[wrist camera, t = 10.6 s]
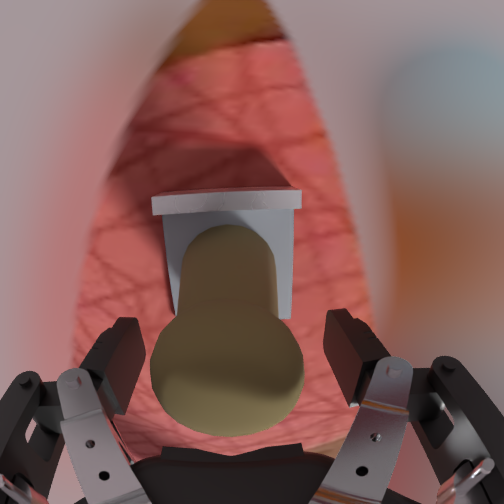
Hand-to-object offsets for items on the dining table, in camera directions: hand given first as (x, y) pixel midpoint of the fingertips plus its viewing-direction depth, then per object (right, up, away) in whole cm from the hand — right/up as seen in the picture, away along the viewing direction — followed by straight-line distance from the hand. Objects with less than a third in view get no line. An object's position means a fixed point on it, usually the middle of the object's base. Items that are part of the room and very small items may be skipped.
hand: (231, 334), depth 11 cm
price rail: (-1, +7, +6) cm, 9 cm away
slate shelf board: (-1, +3, +7) cm, 7 cm away
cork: (-1, +2, +7) cm, 7 cm away
